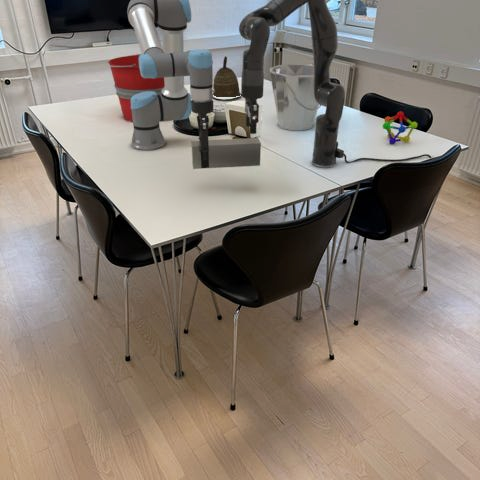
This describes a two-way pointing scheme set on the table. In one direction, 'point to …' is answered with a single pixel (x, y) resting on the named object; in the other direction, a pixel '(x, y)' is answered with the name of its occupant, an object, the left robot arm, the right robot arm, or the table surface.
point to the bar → (228, 153)
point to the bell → (226, 82)
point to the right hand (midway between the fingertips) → (250, 129)
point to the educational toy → (398, 128)
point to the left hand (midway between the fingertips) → (204, 164)
